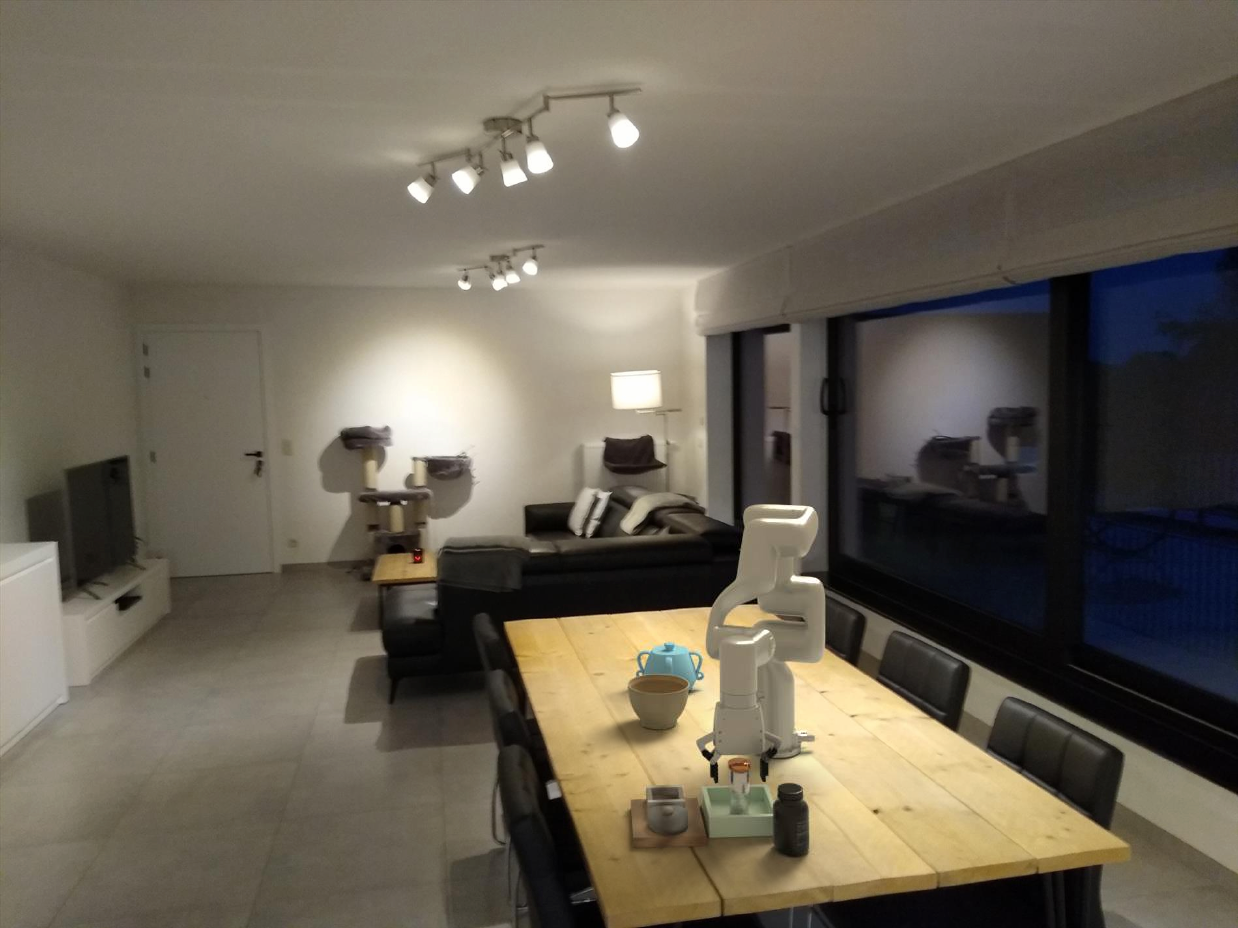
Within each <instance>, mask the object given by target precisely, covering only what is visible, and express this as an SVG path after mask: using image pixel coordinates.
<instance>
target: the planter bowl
mask: <svg viewBox="0 0 1238 928" xmlns="http://www.w3.org/2000/svg"><path fill="white" fill-rule="evenodd" d="M627 689H628V690H627V691H628V697H629V702H630V706H631V707H632V710H633V711H634V713H635V715H636V716H637V718H638V719H639V721H640V725H641V726H643V727H644V728H647V729H650V730H669V729H671V728H673V727H675V726H676V725H677V724H678V719H679V718H680V717H681V715H682V714H683V713H684V711H685V708H686V705H687V703H688V698H689V691H690V690H689V682H688V681H687V680H686V679H684V678H681V677H678V676H674V675H668V674H648V675H642V674H641V675H640V676H638V677H636V676H635V677H632V678H631V679H630V680H629V681H627Z"/></svg>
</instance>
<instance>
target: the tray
mask: <svg viewBox="0 0 1238 928" xmlns="http://www.w3.org/2000/svg"><path fill="white" fill-rule="evenodd" d="M700 792H701V793H700V794H701V796H700V797H701V803H700V804H701V808H702V812H703V816H704V820H705V825H706V828H707V833H708V836H709V837H708V838H710V839H711V838H739V837H740V838H742V837H773V803H774V801H775V799H774V797H773V795H772V792H771V789H770V788H769V785H768V784H767V783H763V784H749V793H750V814H747V815H730V784H729V785H726V784H725V785H724V784H723V785H702V786H701V790H700Z"/></svg>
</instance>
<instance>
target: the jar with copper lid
mask: <svg viewBox="0 0 1238 928" xmlns="http://www.w3.org/2000/svg"><path fill="white" fill-rule="evenodd" d="M727 769H728V770H729V774H728V775H729V785H730V815H747V814H750V793H749V785H750V770H751V769H752V764H751V761H750V760H749V759H747V758H744V757H733V758H730V759H728V760H727Z"/></svg>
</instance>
